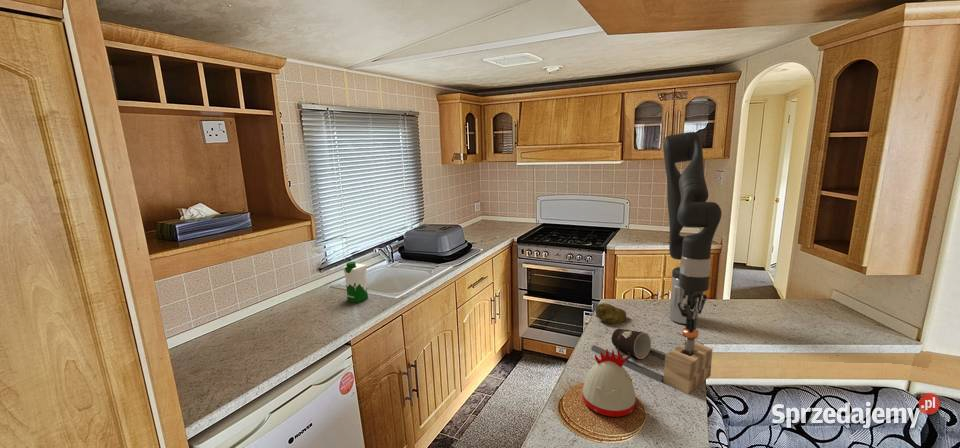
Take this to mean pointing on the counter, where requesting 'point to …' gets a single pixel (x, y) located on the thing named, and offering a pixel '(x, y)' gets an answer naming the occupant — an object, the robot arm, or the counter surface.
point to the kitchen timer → (609, 387)
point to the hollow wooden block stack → (687, 367)
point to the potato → (610, 313)
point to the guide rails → (636, 366)
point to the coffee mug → (632, 342)
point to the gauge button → (689, 340)
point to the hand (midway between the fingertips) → (690, 329)
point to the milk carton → (356, 282)
